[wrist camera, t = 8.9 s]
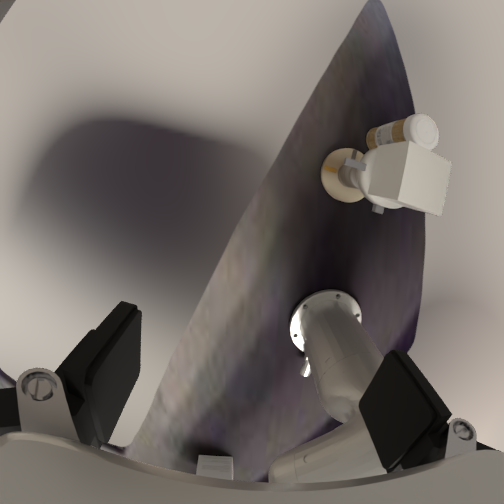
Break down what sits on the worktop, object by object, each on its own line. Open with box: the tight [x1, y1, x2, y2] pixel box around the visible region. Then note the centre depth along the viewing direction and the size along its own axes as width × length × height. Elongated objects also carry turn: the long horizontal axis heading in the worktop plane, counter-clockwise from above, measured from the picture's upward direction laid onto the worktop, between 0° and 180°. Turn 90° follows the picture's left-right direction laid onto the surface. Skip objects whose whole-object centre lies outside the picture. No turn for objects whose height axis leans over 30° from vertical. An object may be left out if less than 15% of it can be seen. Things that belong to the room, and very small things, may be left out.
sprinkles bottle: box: [366, 113, 439, 151], centre depth 31 cm, size 5×5×13 cm
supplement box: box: [196, 455, 233, 480], centre depth 50 cm, size 9×9×15 cm
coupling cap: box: [344, 140, 452, 217], centre depth 23 cm, size 9×8×8 cm
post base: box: [320, 148, 364, 202], centre depth 33 cm, size 8×8×12 cm
